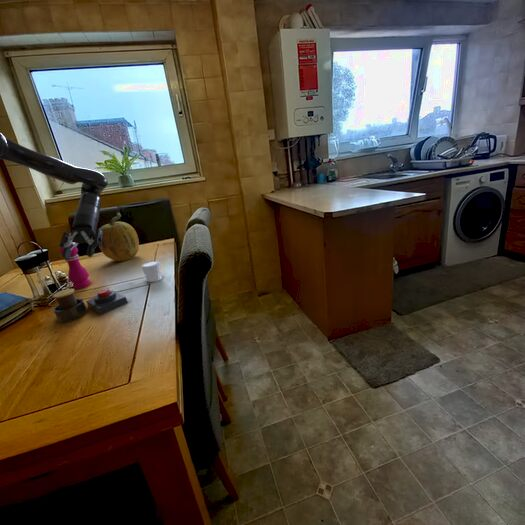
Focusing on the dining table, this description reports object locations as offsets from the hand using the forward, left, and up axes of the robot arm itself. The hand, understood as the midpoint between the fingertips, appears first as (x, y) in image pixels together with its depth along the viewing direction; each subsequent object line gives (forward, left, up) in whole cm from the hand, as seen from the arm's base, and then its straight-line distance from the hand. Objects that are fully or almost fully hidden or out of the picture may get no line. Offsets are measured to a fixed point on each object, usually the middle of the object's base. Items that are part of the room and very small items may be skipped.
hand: (77, 257), depth 98 cm
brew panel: (+1, -11, -17) cm, 20 cm away
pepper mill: (+3, +20, -17) cm, 26 cm away
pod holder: (-9, -7, -17) cm, 20 cm away
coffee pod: (-9, -7, -16) cm, 20 cm away
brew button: (+1, -11, -13) cm, 17 cm away
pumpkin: (+30, +39, -17) cm, 52 cm away
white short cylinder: (+22, -6, -17) cm, 28 cm away
